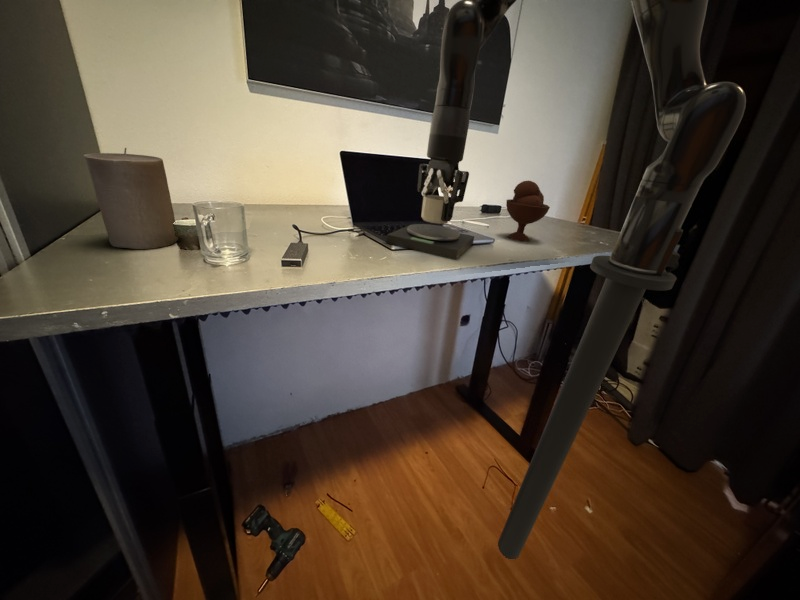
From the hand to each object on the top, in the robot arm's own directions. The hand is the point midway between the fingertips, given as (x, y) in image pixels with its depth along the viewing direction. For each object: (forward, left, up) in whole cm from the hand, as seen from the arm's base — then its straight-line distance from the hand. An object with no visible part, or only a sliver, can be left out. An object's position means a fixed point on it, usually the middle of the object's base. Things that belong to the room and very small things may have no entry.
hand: (435, 216), depth 73 cm
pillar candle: (+40, +38, -6) cm, 55 cm away
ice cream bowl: (-17, -24, -6) cm, 30 cm away
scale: (0, 0, -6) cm, 6 cm away
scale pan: (0, 0, -4) cm, 4 cm away
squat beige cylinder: (0, 0, -1) cm, 1 cm away
